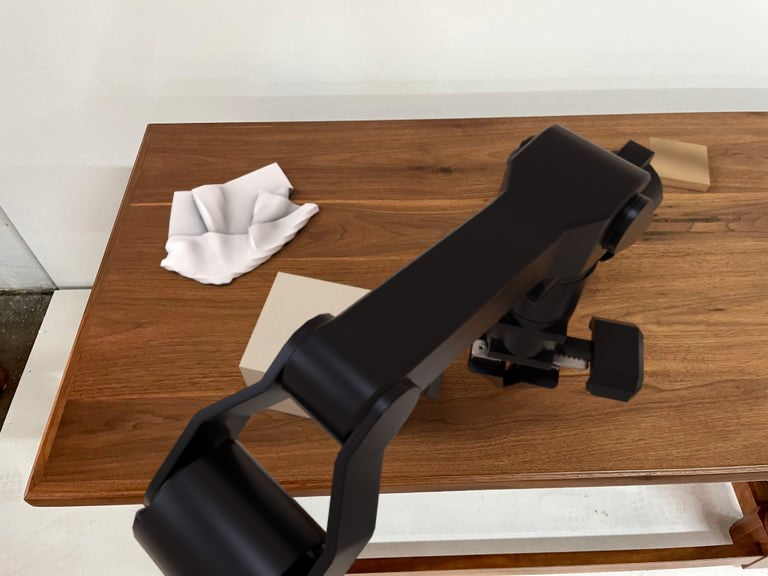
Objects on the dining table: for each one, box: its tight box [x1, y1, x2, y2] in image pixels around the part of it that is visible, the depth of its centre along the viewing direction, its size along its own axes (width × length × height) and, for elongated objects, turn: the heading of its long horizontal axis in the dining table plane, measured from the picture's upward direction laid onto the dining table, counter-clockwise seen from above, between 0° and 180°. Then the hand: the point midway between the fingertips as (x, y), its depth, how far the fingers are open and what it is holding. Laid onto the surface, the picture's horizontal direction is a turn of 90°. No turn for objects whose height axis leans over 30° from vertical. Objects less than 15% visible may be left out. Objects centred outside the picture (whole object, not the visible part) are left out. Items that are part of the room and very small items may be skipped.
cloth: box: [160, 162, 320, 286], centre depth 80 cm, size 20×22×2 cm
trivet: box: [646, 136, 711, 193], centre depth 86 cm, size 8×8×2 cm
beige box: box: [238, 271, 372, 420], centre depth 64 cm, size 14×12×10 cm
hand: (502, 384), depth 55 cm, fingers closed
